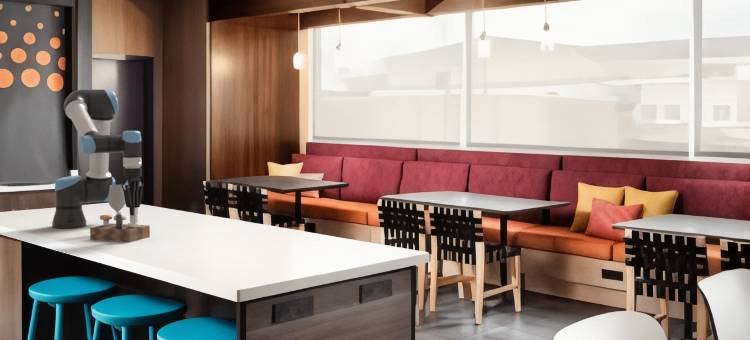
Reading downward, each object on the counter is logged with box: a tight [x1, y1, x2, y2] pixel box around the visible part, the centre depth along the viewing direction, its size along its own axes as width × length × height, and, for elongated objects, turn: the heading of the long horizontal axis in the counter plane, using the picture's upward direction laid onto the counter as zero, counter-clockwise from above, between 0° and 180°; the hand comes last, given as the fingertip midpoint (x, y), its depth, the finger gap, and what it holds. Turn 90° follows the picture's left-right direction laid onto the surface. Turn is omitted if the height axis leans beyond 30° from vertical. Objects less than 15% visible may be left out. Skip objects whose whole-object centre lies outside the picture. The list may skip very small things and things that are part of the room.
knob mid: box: [113, 214, 127, 227], centre depth 366 cm, size 5×5×6 cm
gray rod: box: [115, 211, 122, 229], centre depth 359 cm, size 2×2×7 cm
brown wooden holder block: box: [89, 222, 151, 243], centre depth 366 cm, size 20×14×5 cm
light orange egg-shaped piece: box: [99, 214, 113, 227], centre depth 368 cm, size 5×5×6 cm
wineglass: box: [107, 184, 126, 214], centre depth 384 cm, size 8×8×21 cm
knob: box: [127, 222, 141, 228], centre depth 364 cm, size 5×5×6 cm
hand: (133, 222), depth 364 cm, fingers closed
